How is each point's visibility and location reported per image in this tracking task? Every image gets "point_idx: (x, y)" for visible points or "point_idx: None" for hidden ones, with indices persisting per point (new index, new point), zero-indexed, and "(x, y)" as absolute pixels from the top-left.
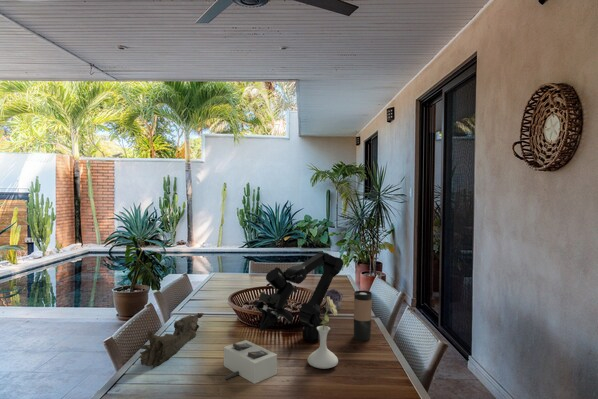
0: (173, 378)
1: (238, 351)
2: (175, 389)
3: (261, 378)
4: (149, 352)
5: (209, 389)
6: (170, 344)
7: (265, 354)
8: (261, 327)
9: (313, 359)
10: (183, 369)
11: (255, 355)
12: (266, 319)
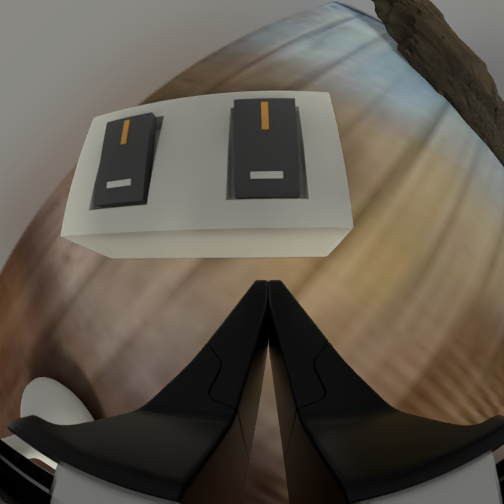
0: (325, 47)
1: (230, 108)
2: (269, 34)
3: None
4: (393, 8)
5: (208, 68)
6: (446, 58)
7: (97, 189)
8: (254, 291)
9: (44, 392)
10: (363, 74)
11: (106, 127)
12: (209, 372)
